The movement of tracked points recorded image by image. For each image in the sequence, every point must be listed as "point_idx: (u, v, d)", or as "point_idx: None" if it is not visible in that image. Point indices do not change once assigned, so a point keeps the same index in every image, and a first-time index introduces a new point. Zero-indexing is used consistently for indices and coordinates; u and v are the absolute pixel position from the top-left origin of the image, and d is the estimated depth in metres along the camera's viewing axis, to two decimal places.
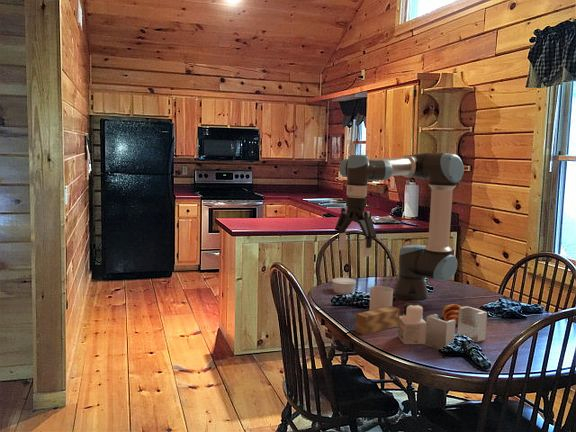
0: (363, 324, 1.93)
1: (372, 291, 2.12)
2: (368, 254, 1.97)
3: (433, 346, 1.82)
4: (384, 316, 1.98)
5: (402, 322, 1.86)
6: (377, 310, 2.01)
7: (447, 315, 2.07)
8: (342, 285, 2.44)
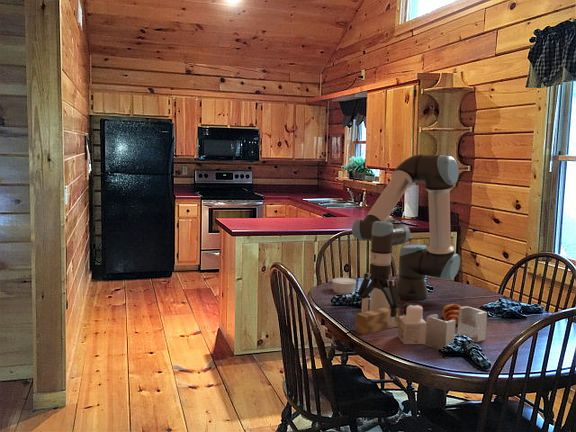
0: (363, 324, 1.93)
1: (372, 291, 2.12)
2: (392, 323, 1.94)
3: (433, 346, 1.82)
4: (384, 316, 1.98)
5: (402, 322, 1.86)
6: (377, 310, 2.01)
7: (447, 315, 2.08)
8: (342, 285, 2.44)
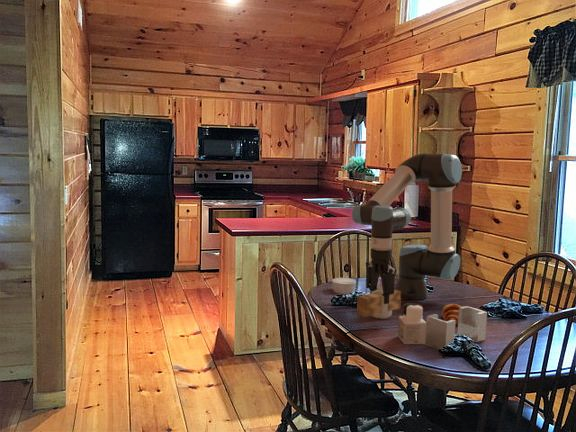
0: (365, 306, 1.93)
1: None
2: (386, 309, 1.98)
3: (433, 346, 1.82)
4: None
5: (402, 322, 1.86)
6: (378, 292, 2.00)
7: (446, 315, 2.08)
8: (342, 285, 2.44)
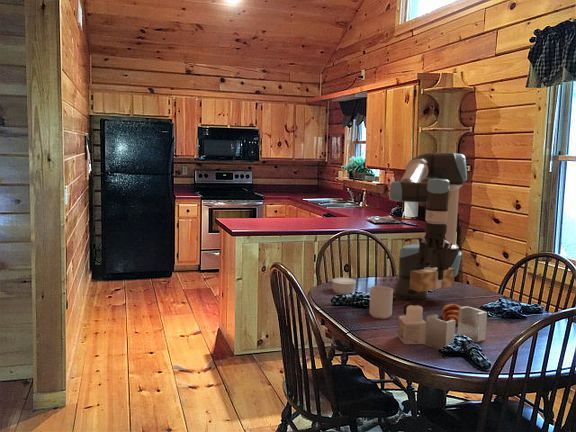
0: (418, 281, 1.87)
1: (372, 291, 2.12)
2: (439, 286, 1.92)
3: (433, 346, 1.82)
4: None
5: (402, 322, 1.86)
6: (431, 268, 1.95)
7: (445, 315, 2.08)
8: (342, 285, 2.44)
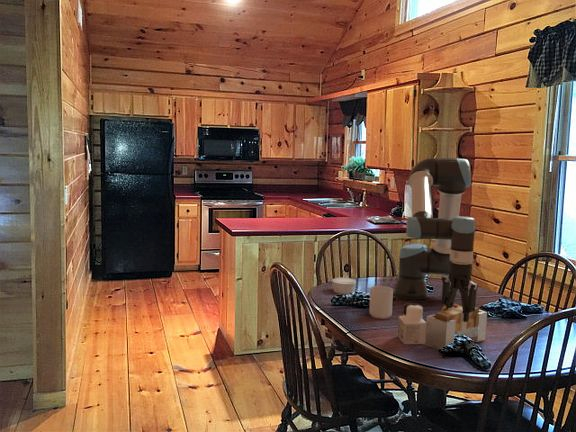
0: None
1: (372, 291, 2.12)
2: (465, 328, 1.85)
3: (433, 346, 1.82)
4: None
5: (402, 322, 1.86)
6: (455, 309, 1.88)
7: None
8: (342, 285, 2.44)
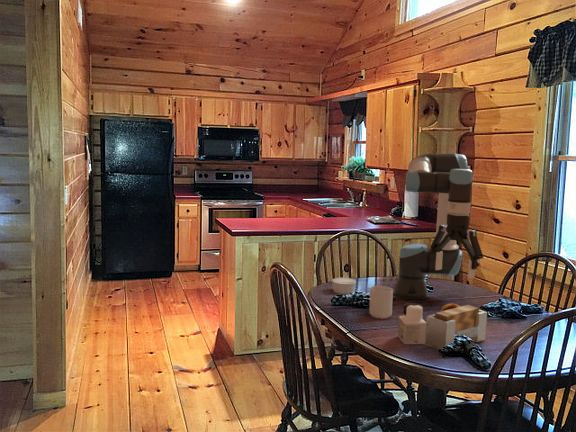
0: None
1: (372, 291, 2.12)
2: (473, 276, 1.83)
3: (433, 346, 1.82)
4: (464, 316, 1.85)
5: (402, 322, 1.86)
6: (455, 309, 1.88)
7: None
8: (342, 285, 2.44)
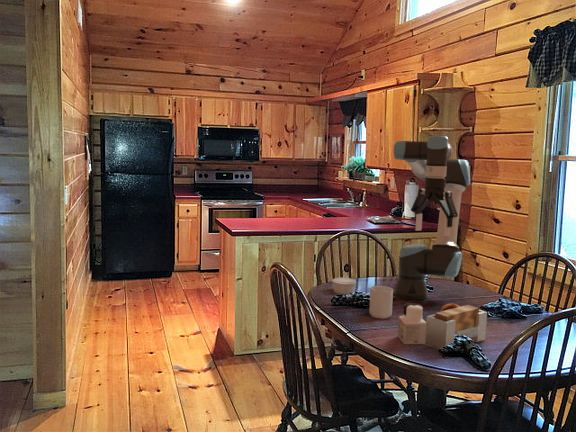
0: None
1: (372, 291, 2.12)
2: (448, 233, 2.00)
3: (433, 346, 1.82)
4: (464, 316, 1.85)
5: (402, 322, 1.86)
6: (455, 309, 1.88)
7: None
8: (342, 285, 2.44)
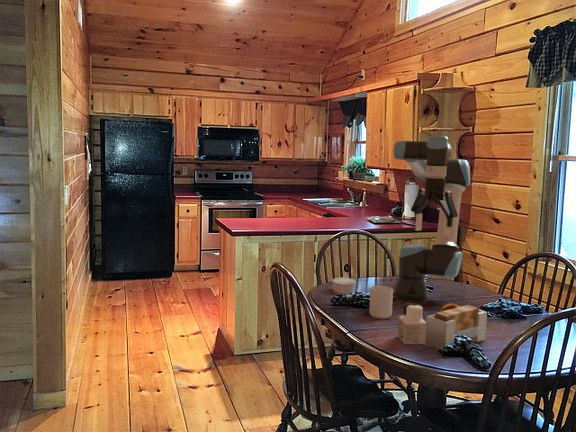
0: None
1: (372, 291, 2.12)
2: (448, 233, 2.00)
3: (433, 346, 1.82)
4: (464, 316, 1.85)
5: (402, 322, 1.86)
6: (455, 309, 1.88)
7: None
8: (342, 285, 2.44)
